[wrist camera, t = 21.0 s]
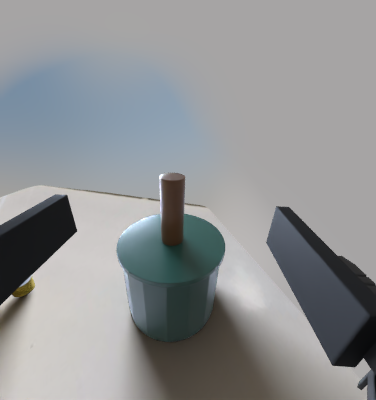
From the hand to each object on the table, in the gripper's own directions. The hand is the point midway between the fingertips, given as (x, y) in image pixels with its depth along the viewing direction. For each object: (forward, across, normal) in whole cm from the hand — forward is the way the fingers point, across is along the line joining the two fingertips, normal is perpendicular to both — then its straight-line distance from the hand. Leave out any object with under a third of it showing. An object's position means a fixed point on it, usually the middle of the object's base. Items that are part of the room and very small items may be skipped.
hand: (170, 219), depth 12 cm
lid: (+9, -1, -9) cm, 13 cm away
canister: (+9, -1, -20) cm, 22 cm away
